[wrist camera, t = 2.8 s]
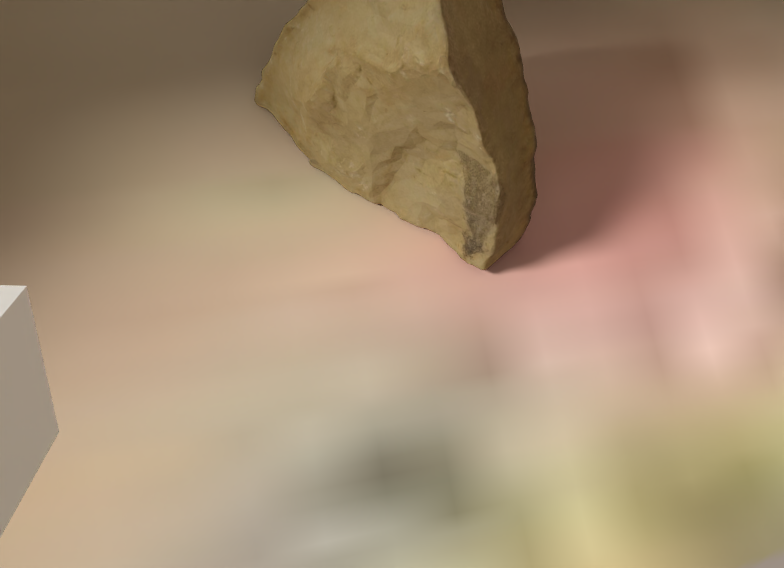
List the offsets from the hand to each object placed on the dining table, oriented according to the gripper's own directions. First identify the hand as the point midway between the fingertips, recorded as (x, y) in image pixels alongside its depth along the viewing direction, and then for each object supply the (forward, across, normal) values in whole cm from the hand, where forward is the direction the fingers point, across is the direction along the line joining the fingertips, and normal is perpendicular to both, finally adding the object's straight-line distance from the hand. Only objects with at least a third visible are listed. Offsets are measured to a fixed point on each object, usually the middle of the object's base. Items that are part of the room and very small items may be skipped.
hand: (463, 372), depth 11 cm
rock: (+17, 0, -3) cm, 17 cm away
